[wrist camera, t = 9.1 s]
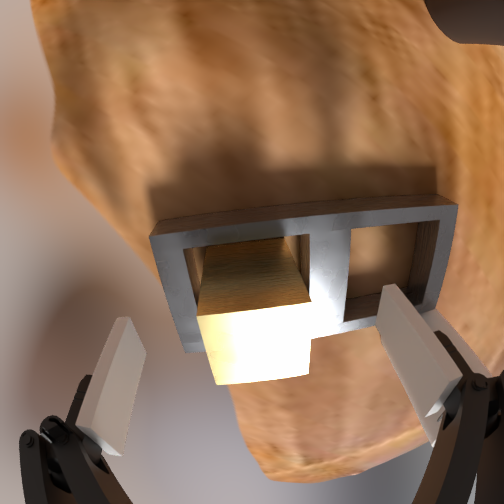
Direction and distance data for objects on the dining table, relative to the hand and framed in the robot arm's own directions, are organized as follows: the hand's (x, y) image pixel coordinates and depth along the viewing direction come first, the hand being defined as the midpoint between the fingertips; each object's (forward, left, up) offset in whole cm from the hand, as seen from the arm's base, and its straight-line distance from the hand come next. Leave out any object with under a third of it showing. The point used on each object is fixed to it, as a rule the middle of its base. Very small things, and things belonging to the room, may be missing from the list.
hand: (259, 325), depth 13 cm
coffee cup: (-20, +18, -6) cm, 27 cm away
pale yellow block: (+1, 0, -6) cm, 6 cm away
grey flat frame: (0, +5, -6) cm, 7 cm away
